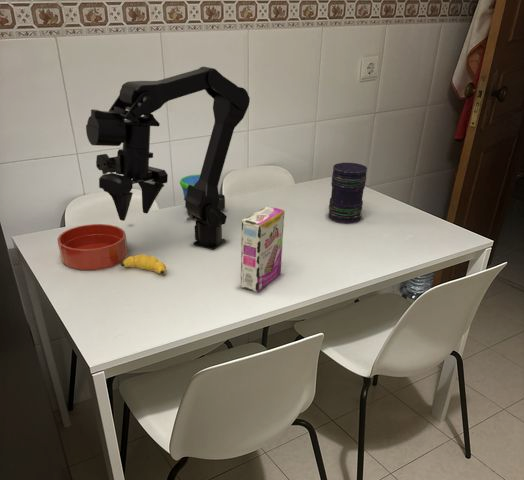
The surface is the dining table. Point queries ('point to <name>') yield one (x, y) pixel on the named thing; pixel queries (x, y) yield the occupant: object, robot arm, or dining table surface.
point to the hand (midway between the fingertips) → (134, 216)
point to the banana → (145, 263)
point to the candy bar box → (261, 248)
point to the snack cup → (188, 182)
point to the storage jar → (347, 192)
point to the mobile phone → (221, 207)
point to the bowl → (93, 247)
